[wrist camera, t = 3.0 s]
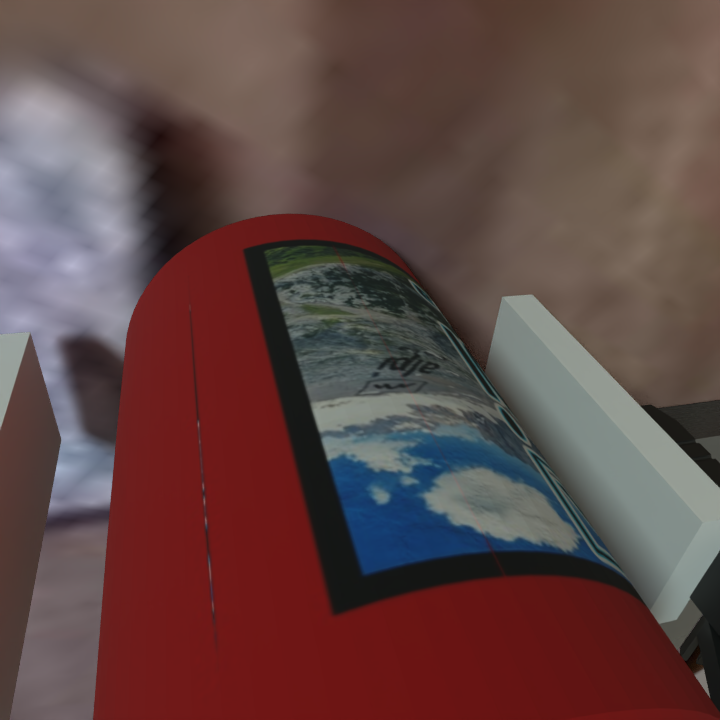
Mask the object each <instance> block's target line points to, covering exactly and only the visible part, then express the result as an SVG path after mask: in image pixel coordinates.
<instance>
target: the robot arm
mask: <svg viewBox="0 0 720 720" xmlns="http://www.w3.org/2000/svg"><path fill="white" fill-rule="evenodd" d="M485 374H486V376H487V377H488V378H489V380H490V381H491V383H492V384H493V385H494V387H495V388H496V390H497V391H498V392H499V394H500V395H501V397H502V398H503V400H504V401H505V402H506V404H507V405H508V407H509V408H510V410H511V411H512V412H513V414H514V415H515V417H516V418H517V420H518V421H519V422H520V424H521V425H522V427H523V428H524V430H525V431H526V432H527V434H528V435H529V437H530V438H531V440H532V441H533V442H534V444H535V445H536V447H537V448H538V450H539V451H540V452H541V454H542V455H543V457H544V458H545V460H546V461H547V462H548V464H549V465H550V467H551V468H552V470H553V471H554V472H555V474H556V475H557V477H558V478H559V480H560V481H561V482H562V484H563V485H564V487H565V488H566V490H567V491H568V492H569V494H570V495H571V497H572V498H573V499H574V501H575V502H576V504H577V505H578V507H579V508H580V510H581V511H582V512H583V514H584V515H585V517H586V518H587V520H588V521H589V522H590V524H591V525H592V527H593V528H594V530H595V531H596V533H597V534H598V536H599V537H600V539H601V540H602V541H603V543H604V544H605V546H606V547H607V549H608V550H609V552H610V553H611V555H612V556H613V558H614V559H615V560H616V562H617V563H618V565H619V566H620V568H621V569H622V571H623V572H624V574H625V575H626V576H627V578H628V579H629V581H630V582H631V584H632V585H633V587H634V588H635V590H636V591H637V593H638V594H639V595H640V597H641V598H642V600H643V601H644V603H645V604H646V606H647V607H648V609H649V610H650V611H651V613H652V614H653V616H654V617H655V619H656V620H657V622H658V623H659V624H661V623H665V622H669V621H674V620H677V618H678V617H679V615H680V614H681V612H682V611H683V609H684V607H685V606H686V604H687V603H688V601H689V600H690V599H691V600H692V601H693V603H694V604H695V605H696V607H697V608H698V609H699V610H700V612H701V613H702V614H703V616H702V617H701V618H700V620H699V621H698V623H697V624H696V626H695V627H694V629H693V630H692V631H691V633H690V634H689V636H688V637H687V639H686V640H685V642H684V643H683V644H682V646H681V647H680V655H681V657H682V658H683V660H685V661H687V660H688V658H689V657H690V656H691V654H692V653H693V651H694V650H695V649H696V647H697V646H698V644H699V647H700V652H701V653H700V654H699V656H698V659H697V661H696V664H700V665H703V666H704V670H705V675H706V680H707V684H708V688H709V693H710V698H711V700H712V702H713V703H714V705H715V706H716V708H717V709H718V711H719V712H720V463H719V462H718V461H717V460H716V459H712V458H711V454H710V453H709V452H708V451H707V450H706V449H705V448H704V447H703V446H702V445H701V444H700V443H696V441H695V440H696V439H695V438H694V437H693V436H692V435H691V434H690V433H689V432H688V431H687V430H686V429H685V428H684V427H683V426H682V425H681V424H680V423H679V422H678V421H677V420H675V419H674V418H672V417H671V416H669V415H667V414H666V413H664V412H662V411H661V410H659V409H657V408H656V407H654V406H652V405H644V406H640V405H639V404H638V403H637V402H636V401H635V400H634V399H633V398H632V397H631V396H630V395H629V394H628V393H627V392H626V391H625V390H624V389H623V388H622V387H621V386H620V385H619V384H618V383H617V382H616V381H615V380H614V378H613V377H612V376H611V375H610V374H609V373H608V372H607V371H606V370H605V369H604V368H603V367H602V366H601V365H600V364H599V363H598V362H597V361H596V360H595V359H594V358H593V357H592V356H591V355H590V354H589V353H588V352H587V351H586V350H585V349H584V348H583V346H582V345H581V344H580V343H579V342H578V341H577V340H576V339H575V338H574V337H573V336H572V335H571V334H570V333H569V332H568V331H567V330H566V329H565V328H564V327H563V326H562V325H561V324H560V323H559V322H558V321H557V320H556V319H555V318H554V317H553V316H552V314H551V313H550V312H549V311H548V310H547V309H546V308H545V307H544V306H543V305H542V304H541V303H540V302H539V301H538V300H537V299H536V298H535V297H534V296H533V295H520V296H507V297H502V301H501V305H500V309H499V314H498V318H497V322H496V326H495V331H494V335H493V339H492V343H491V348H490V352H489V356H488V360H487V365H486V369H485ZM60 444H61V437H60V433H59V430H58V426H57V423H56V419H55V416H54V413H53V409H52V406H51V402H50V399H49V395H48V392H47V388H46V385H45V381H44V378H43V375H42V371H41V368H40V364H39V361H38V357H37V354H36V350H35V347H34V343H33V340H32V337H31V333H30V332H26V333H13V334H0V720H9V719H10V713H11V708H12V702H13V697H14V692H15V686H16V681H17V675H18V670H19V665H20V659H21V654H22V649H23V643H24V638H25V632H26V627H27V622H28V616H29V611H30V605H31V600H32V595H33V589H34V584H35V578H36V573H37V568H38V562H39V557H40V552H41V546H42V541H43V535H44V530H45V525H46V519H47V514H48V508H49V503H50V498H51V492H52V487H53V482H54V476H55V471H56V465H57V460H58V455H59V449H60Z"/></svg>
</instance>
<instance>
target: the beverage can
mask: <svg viewBox="0 0 720 720" xmlns="http://www.w3.org/2000/svg"><path fill="white" fill-rule="evenodd" d="M93 720H720V712H719V711H718V709H717V708H716V706H715V705H714V703H713V702H712V700H711V699H710V698H709V696H708V695H707V693H706V692H705V690H704V689H703V687H702V686H701V684H700V683H699V682H698V680H697V679H696V677H695V676H694V674H693V673H692V671H691V670H690V668H689V667H688V665H687V664H686V663H685V661H684V660H683V658H682V657H681V655H680V654H679V652H678V651H677V649H676V648H675V647H674V645H673V644H672V642H671V641H670V639H669V638H668V636H667V635H666V633H665V632H664V630H663V629H662V628H661V626H660V625H659V623H658V622H657V620H656V619H655V617H654V616H653V614H652V613H651V611H650V610H649V609H648V607H647V606H646V604H645V603H644V601H643V600H642V598H641V597H640V595H639V594H638V593H637V591H636V590H635V588H634V587H633V585H632V584H631V582H630V581H629V579H628V578H627V576H626V575H625V574H624V572H623V571H622V569H621V568H620V566H619V565H618V563H617V562H616V560H615V559H614V558H613V556H612V555H611V553H610V552H609V550H608V549H607V547H606V546H605V544H604V543H603V541H602V540H601V539H600V537H599V536H598V534H597V533H596V531H595V530H594V528H593V527H592V525H591V524H590V522H589V521H588V520H587V518H586V517H585V515H584V514H583V512H582V511H581V510H580V508H579V507H578V505H577V504H576V502H575V501H574V499H573V498H572V497H571V495H570V494H569V492H568V491H567V490H566V488H565V487H564V485H563V484H562V482H561V481H560V480H559V478H558V477H557V475H556V474H555V472H554V471H553V470H552V468H551V467H550V465H549V464H548V462H547V461H546V460H545V458H544V457H543V455H542V454H541V452H540V451H539V450H538V448H537V447H536V445H535V444H534V442H533V441H532V440H531V438H530V437H529V435H528V434H527V432H526V431H525V430H524V428H523V427H522V425H521V424H520V422H519V421H518V420H517V418H516V417H515V415H514V414H513V412H512V411H511V410H510V408H509V407H508V405H507V404H506V402H505V401H504V400H503V398H502V397H501V395H500V394H499V392H498V391H497V390H496V388H495V387H494V385H493V384H492V383H491V381H490V380H489V378H488V377H487V376H486V374H485V373H484V371H483V370H482V369H481V367H480V366H479V364H478V363H477V362H476V360H475V359H474V357H473V356H472V355H471V353H470V352H469V350H468V349H467V348H466V346H465V345H464V343H463V342H462V341H461V339H460V338H459V337H458V335H457V334H456V332H455V331H454V330H453V328H452V327H451V325H450V324H449V323H448V321H447V320H446V318H445V317H444V316H443V314H442V313H441V311H440V310H439V309H438V307H437V306H436V305H435V303H434V302H433V300H432V299H431V298H430V296H429V295H428V294H427V292H426V291H425V290H424V288H423V287H422V286H421V284H420V283H419V281H418V280H417V279H416V277H415V276H414V275H413V273H412V272H411V271H410V269H409V268H408V266H407V265H406V264H405V263H404V262H403V260H402V259H401V258H400V257H399V256H398V255H397V254H396V253H395V252H394V251H393V250H392V249H391V248H390V247H388V246H387V245H386V244H385V243H383V242H382V241H381V240H379V239H378V238H376V237H374V236H373V235H371V234H370V233H368V232H366V231H364V230H362V229H360V228H358V227H355V226H352V225H350V224H347V223H345V222H342V221H338V220H335V219H331V218H326V217H321V216H316V215H306V214H277V215H267V216H261V217H255V218H251V219H246V220H242V221H239V222H236V223H233V224H230V225H227V226H224V227H222V228H220V229H217V230H215V231H213V232H211V233H209V234H207V235H205V236H203V237H201V238H199V239H198V240H196V241H195V242H193V243H191V244H190V245H188V246H187V247H185V248H184V249H183V250H182V251H180V252H179V253H178V254H176V255H175V256H174V257H173V258H172V259H171V260H170V261H169V262H168V263H166V264H165V265H164V266H163V268H162V269H161V270H160V271H159V272H158V273H157V274H156V275H155V276H154V278H153V279H152V281H151V282H150V283H149V285H148V286H147V287H146V289H145V290H144V292H143V294H142V295H141V297H140V299H139V301H138V303H137V305H136V307H135V309H134V312H133V315H132V317H131V320H130V323H129V328H128V332H127V338H126V347H125V357H124V366H123V376H122V386H121V395H120V405H119V415H118V425H117V436H116V447H115V458H114V470H113V481H112V492H111V503H110V515H109V526H108V537H107V548H106V561H105V574H104V587H103V600H102V612H101V625H100V638H99V651H98V664H97V676H96V689H95V702H94V715H93Z"/></svg>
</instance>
